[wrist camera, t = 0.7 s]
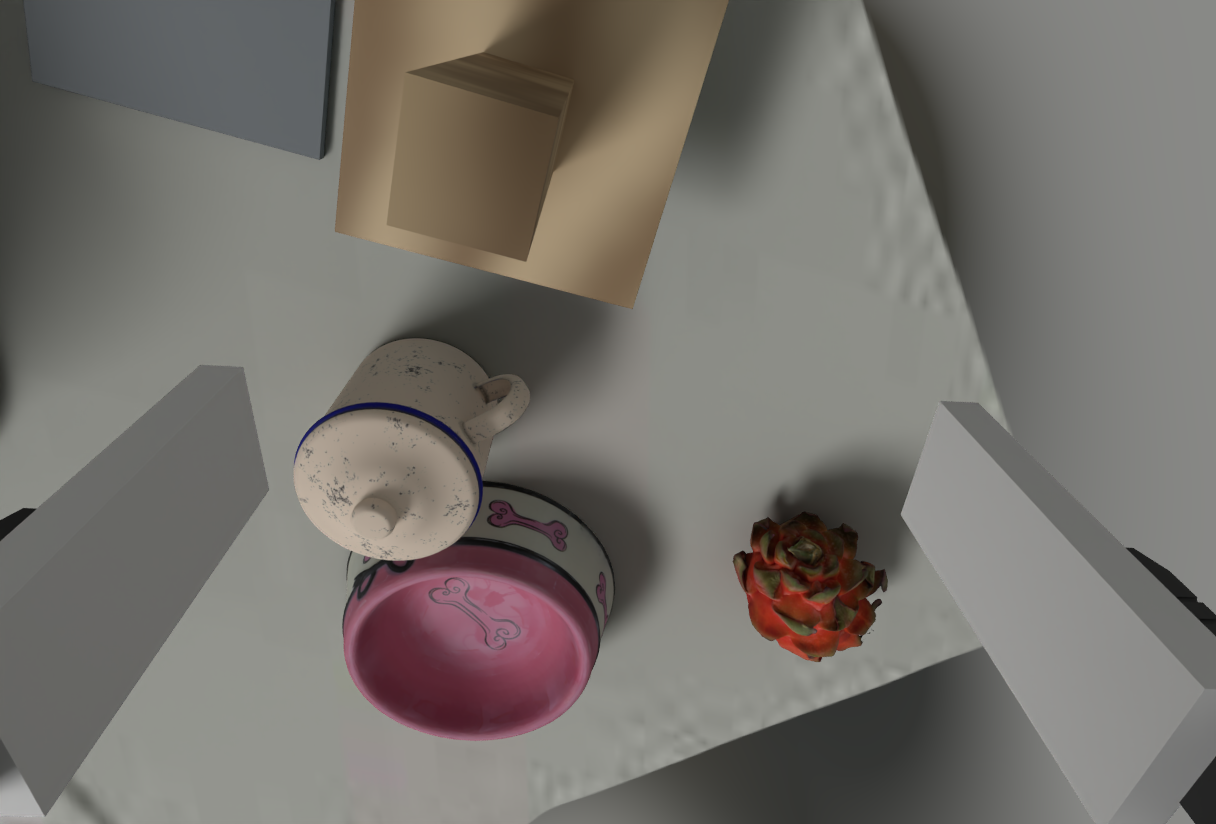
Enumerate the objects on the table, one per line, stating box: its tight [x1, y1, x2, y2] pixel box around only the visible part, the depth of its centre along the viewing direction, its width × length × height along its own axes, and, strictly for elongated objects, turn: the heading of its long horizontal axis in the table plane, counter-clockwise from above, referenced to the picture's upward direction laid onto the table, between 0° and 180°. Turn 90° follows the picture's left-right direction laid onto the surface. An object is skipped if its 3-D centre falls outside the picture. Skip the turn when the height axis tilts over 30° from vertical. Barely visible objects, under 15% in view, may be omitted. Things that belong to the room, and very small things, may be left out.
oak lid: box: [335, 0, 729, 309], centre depth 22 cm, size 13×13×13 cm
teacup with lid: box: [294, 338, 530, 561], centre depth 36 cm, size 12×9×12 cm
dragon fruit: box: [733, 512, 888, 662], centre depth 44 cm, size 8×8×12 cm
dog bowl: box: [342, 481, 615, 741], centre depth 46 cm, size 18×19×7 cm
